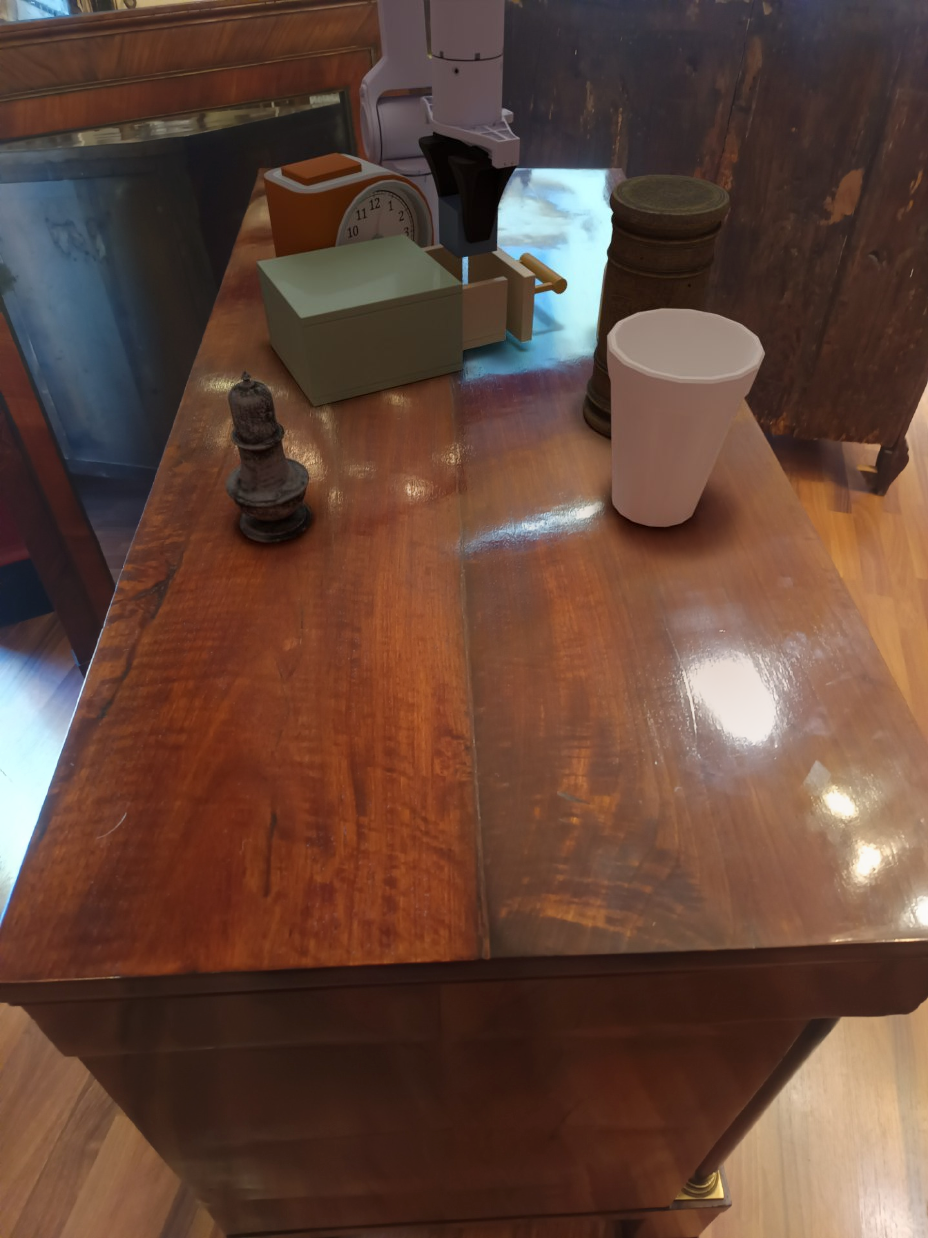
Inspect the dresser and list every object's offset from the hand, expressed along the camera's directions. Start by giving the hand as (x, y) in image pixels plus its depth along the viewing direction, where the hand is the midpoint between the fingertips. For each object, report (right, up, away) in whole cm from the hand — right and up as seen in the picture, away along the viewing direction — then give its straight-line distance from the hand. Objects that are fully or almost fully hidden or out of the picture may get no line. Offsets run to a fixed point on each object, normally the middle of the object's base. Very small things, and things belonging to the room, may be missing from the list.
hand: (467, 231), depth 74 cm
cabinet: (-10, -10, +4) cm, 15 cm away
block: (0, -1, +1) cm, 1 cm away
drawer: (0, -6, +6) cm, 9 cm away
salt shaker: (-14, -28, -14) cm, 34 cm away
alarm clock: (-12, -1, +12) cm, 17 cm away
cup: (+14, -27, -12) cm, 33 cm away
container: (+14, -18, -4) cm, 23 cm away
